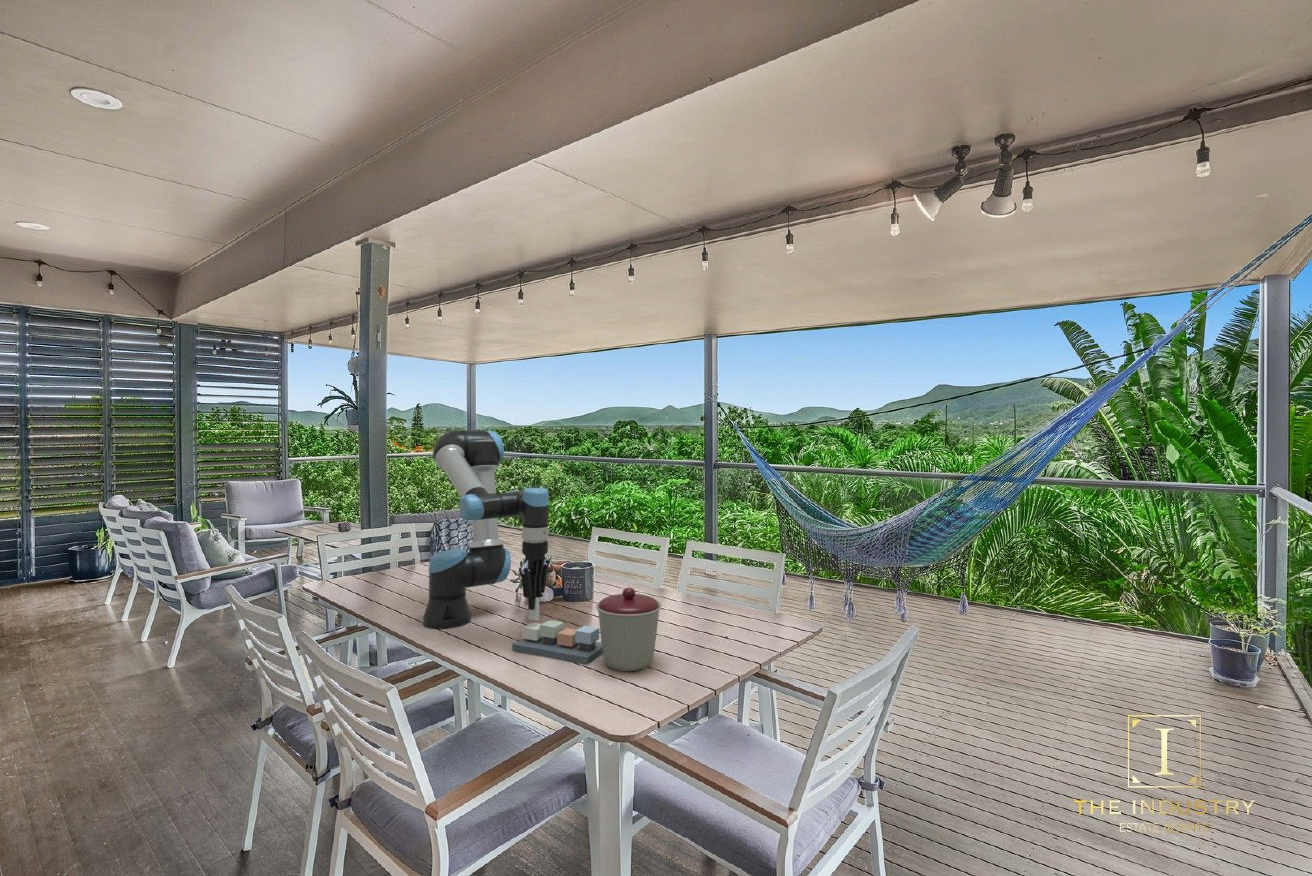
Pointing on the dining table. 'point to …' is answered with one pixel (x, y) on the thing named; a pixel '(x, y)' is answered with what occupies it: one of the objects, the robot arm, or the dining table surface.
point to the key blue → (587, 635)
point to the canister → (628, 629)
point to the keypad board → (559, 650)
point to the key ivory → (532, 632)
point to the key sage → (551, 628)
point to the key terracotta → (566, 637)
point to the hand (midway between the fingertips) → (533, 619)
